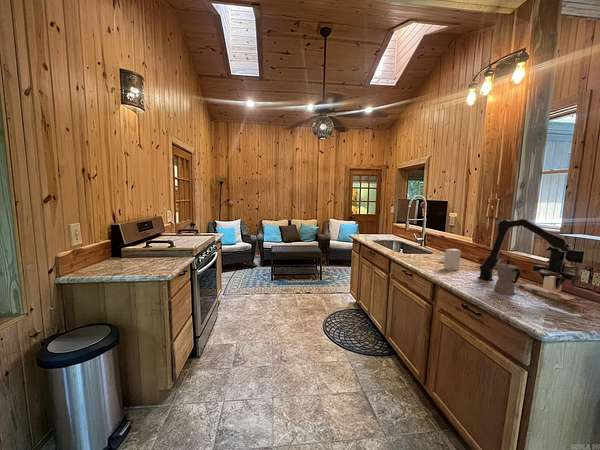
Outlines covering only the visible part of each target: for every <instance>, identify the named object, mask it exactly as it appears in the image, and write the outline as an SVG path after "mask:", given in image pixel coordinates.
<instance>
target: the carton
mask: <svg viewBox="0 0 600 450" xmlns="http://www.w3.org/2000/svg"><path fill="white" fill-rule="evenodd" d="M556 277H557V276H555V275H550V276H545V277H544V280H543V283H542V288H543V289H545V290H548V291H551V292H561V291H562V285H563V283H562V284H561V286H560V287H559V289H556Z"/></svg>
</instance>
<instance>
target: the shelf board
mask: <svg viewBox="0 0 600 450" xmlns="http://www.w3.org/2000/svg"><path fill="white" fill-rule="evenodd" d="M514 287H516V288H519V289H523V290H526V291H529V292H532V293H533V294H534V293H535V294H537V295H540V296H543V297H546V298H550V299H552V300H554V301H556V300H557V301H558V300H570V299H573V300H574V297H572V296H569V295H567V294H564V293H560V292H558V291H554V292H551V291H548V290H545V289H543V287H541V286H538V285H534V284H531V283H527V284H522V283H521V284H520V283H517V282H516V283H514Z"/></svg>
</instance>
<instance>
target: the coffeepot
mask: <svg viewBox="0 0 600 450" xmlns="http://www.w3.org/2000/svg"><path fill="white" fill-rule="evenodd" d="M505 261H506V262H505V263H500V264H497V267H496V271H497V277H498V278H497V279H496V283H495V286H494V288H493V290H494V291H495V292H496V293H498V294H502V295H507V296H512V295H515V286H514V283H517V281H518V280H519V278H520V276H521V271H520V269H519V267H518V266H515V265H513V264H511V263H510V262H511V261H510V260H505Z"/></svg>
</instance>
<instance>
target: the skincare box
mask: <svg viewBox="0 0 600 450" xmlns="http://www.w3.org/2000/svg"><path fill="white" fill-rule="evenodd" d="M461 254H462V250H460V249H457V248H446V249H445V254H444V256H445V262H444V263H443V269H445V270H447V271H448V272H449V271H459V270H460V262H461Z"/></svg>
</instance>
